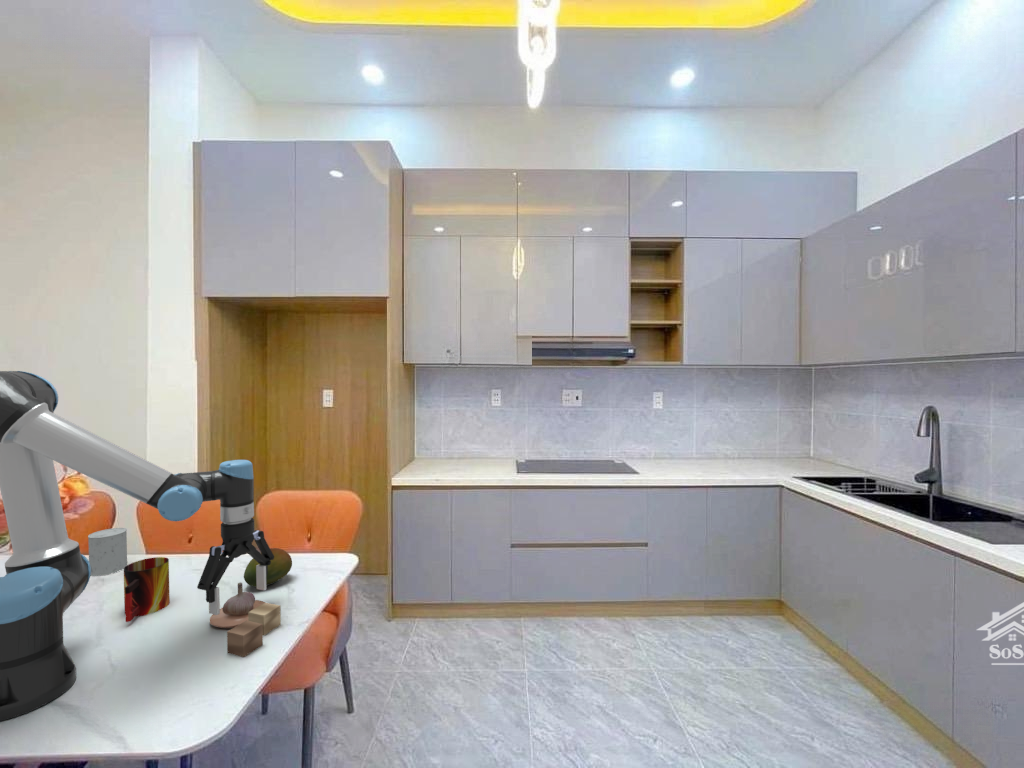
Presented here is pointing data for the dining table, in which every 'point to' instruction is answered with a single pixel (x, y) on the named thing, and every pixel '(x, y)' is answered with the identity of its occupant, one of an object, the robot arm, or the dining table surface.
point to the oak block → (266, 616)
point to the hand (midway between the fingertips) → (239, 600)
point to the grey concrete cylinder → (107, 551)
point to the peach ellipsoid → (231, 618)
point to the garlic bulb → (239, 603)
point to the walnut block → (244, 638)
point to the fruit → (270, 568)
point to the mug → (146, 587)
